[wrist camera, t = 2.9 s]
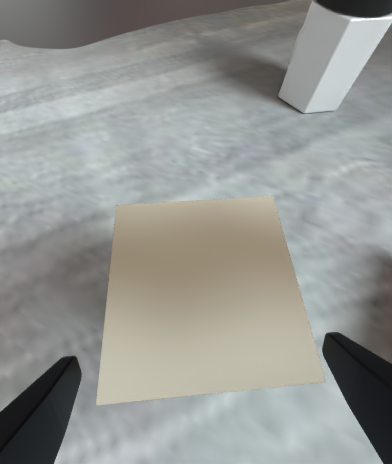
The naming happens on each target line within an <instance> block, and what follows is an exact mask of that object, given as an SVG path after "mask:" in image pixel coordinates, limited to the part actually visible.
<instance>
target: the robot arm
mask: <svg viewBox="0 0 392 464" xmlns="http://www.w3.org/2000/svg"><path fill="white" fill-rule="evenodd" d="M322 352H323V356H324V358H325V360H326V362H327V364H328V366H329V368H330V370H331V372H332V374H333V376H334V378H335V380H336V382H337V384H338V386H339V388H340V390H341V392H342V394H343V396H344V398H345V400H346V402H347V404H348V405H349V407H350V409H351V411H352V412H353V414H354V416H355V417H356V419H357V420H358V422H359V424H360V425H361V427H362V429H363V430H364V432H365V434H366V435H367V437H368V439H369V440H370V442H371V444H372V445H373V447H374V449H375V450H376V452H377V454H378V455H379V457H380V459H381V460H382V462H383V464H392V364H391V363H389V362H388V361H386V360H384V359H382V358H381V357H379V356H377V355H376V354H374V353H372V352H371V351H369V350H367V349H366V348H364V347H362V346H361V345H359V344H357V343H356V342H354V341H352V340H351V339H349V338H347V337H346V336H344V335H342V334H340V333H338V332H331V333H326V335H325V338H324V343H323V348H322ZM81 375H82V374H81V369H80V366H79V363H78V360H77V357H76V356H66V357H62V358H61V359H60V360H59V361H57V362H56V363H55V364H54V365H53V366H52V367H51V368H49V369H48V370H47V371H46V372H45V373H44V374H43V375H42V376H40V377H39V378H38V379H37V380H36V381H35V382H34V383H33V384H31V385H30V386H29V387H28V388H27V389H26V390H25V391H23V392H22V393H21V394H20V395H19V396H18V397H17V398H16V399H14V400H13V401H12V402H11V403H10V404H9V405H8V406H7V407H5V408H4V409H3V410H2V411H1V412H0V464H54V462H55V459H56V456H57V454H58V451H59V449H60V446H61V443H62V441H63V438H64V435H65V432H66V429H67V426H68V422H69V419H70V415H71V412H72V409H73V405H74V402H75V398H76V395H77V391H78V388H79V385H80V381H81Z"/></svg>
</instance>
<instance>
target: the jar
mask: <svg viewBox="0 0 392 464" xmlns="http://www.w3.org/2000/svg"><path fill="white" fill-rule="evenodd" d="M391 23H392V0H312V2H311V5H310V8H309V10H308V13H307V16H306V19H305V22H304V25H303V27H302V28H301V29H300V32H299V35H298V37H297V40H296V43H295V46H294V49H293V52H292V54H291V58H290V60H289V63H288V64H289V67H288V69H287V72H286V75H285V78H284V81H283V83H282V86H281V89H280V92H279V95H278V97H279V98H281V99H282V100H284V101H285V102H287V103H288V104H290V105H291V106H293V107H294V108H296V109H297V110H299V111H300V112H302V113H315V112H326V111H335V110H336V109H337V108H338V106H339V105H340V103H341V102H342V100H343V98H344V97H345V95H346V94H347V92H348V91H349V89H350V87H351V86H352V84H353V83H354V81H355V80H356V78H357V76H358V75H359V73H360V72H361V70H362V69H363V67H364V65H365V64H366V62H367V61H368V59H369V58H370V56H371V54H372V53H373V51H374V50H375V48H376V47H377V45H378V43H379V42H380V40H381V39H382V37H383V36H384V34H385V32H386V31H387V29H388V28H389V26H390V25H391Z"/></svg>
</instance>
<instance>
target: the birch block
mask: <svg viewBox="0 0 392 464" xmlns="http://www.w3.org/2000/svg"><path fill="white" fill-rule="evenodd" d="M323 382H326V379H325V376H324V372H323V369H322V365H321V362H320V359H319V355H318V352H317V348H316V345H315V341H314V338H313V334H312V331H311V327H310V324H309V320H308V317H307V313H306V310H305V306H304V303H303V299H302V296H301V292H300V289H299V285H298V282H297V279H296V275H295V272H294V268H293V265H292V261H291V258H290V254H289V251H288V247H287V244H286V240H285V237H284V233H283V230H282V226H281V223H280V219H279V216H278V212H277V209H276V206H275V202H274V199H273V196H267V197H249V198H232V199H214V200H197V201H179V202H162V203H144V204H127V205H116V214H115V223H114V233H113V243H112V253H111V262H110V272H109V282H108V292H107V302H106V311H105V321H104V331H103V341H102V350H101V360H100V370H99V380H98V389H97V399H96V405H104V404H114V403H124V402H134V401H144V400H154V399H164V398H174V397H184V396H193V395H203V394H213V393H223V392H233V391H243V390H253V389H263V388H273V387H283V386H293V385H303V384H313V383H323Z"/></svg>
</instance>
